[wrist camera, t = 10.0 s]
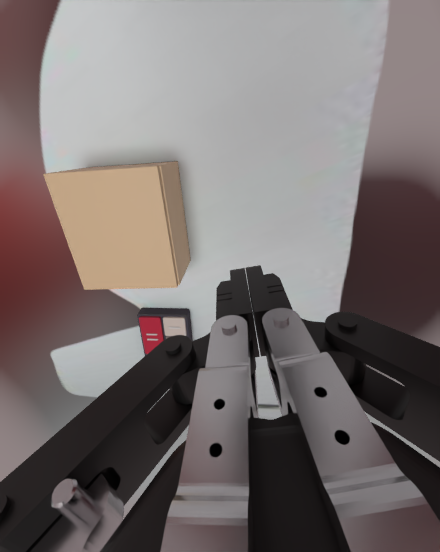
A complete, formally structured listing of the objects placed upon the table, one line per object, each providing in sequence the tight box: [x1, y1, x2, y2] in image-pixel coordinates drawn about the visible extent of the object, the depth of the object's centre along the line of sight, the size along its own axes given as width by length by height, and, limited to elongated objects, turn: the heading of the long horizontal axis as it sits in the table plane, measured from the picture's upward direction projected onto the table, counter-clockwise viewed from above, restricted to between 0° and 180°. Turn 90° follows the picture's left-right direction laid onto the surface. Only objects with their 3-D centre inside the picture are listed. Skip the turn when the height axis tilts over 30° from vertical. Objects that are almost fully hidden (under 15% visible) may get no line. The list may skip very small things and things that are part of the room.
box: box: [53, 161, 190, 285], centre depth 43 cm, size 16×18×10 cm
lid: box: [44, 166, 178, 290], centre depth 38 cm, size 16×18×1 cm
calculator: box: [137, 308, 192, 356], centre depth 58 cm, size 11×4×15 cm
